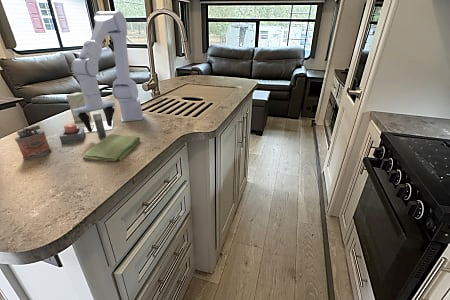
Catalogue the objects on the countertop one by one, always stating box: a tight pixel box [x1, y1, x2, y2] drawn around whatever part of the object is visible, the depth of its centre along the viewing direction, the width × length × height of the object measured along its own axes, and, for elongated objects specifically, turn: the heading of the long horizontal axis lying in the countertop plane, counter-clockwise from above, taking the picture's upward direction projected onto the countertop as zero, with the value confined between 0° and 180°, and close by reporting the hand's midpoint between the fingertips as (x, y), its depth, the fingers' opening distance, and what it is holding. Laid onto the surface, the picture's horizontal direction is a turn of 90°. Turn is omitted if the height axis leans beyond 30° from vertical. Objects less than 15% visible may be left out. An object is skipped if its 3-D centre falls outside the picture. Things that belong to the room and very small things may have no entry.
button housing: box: [59, 127, 86, 145], centre depth 92 cm, size 7×7×3 cm
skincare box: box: [66, 91, 92, 122], centre depth 110 cm, size 6×4×12 cm
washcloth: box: [82, 133, 141, 162], centre depth 83 cm, size 13×18×3 cm
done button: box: [63, 123, 78, 134], centre depth 90 cm, size 4×4×2 cm
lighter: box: [14, 124, 52, 162], centre depth 78 cm, size 8×3×10 cm, turn 148°
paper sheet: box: [76, 119, 114, 134], centre depth 103 cm, size 17×12×1 cm
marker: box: [92, 112, 107, 138], centre depth 93 cm, size 3×3×9 cm
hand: (100, 128), depth 93 cm, fingers open, 7 cm apart
